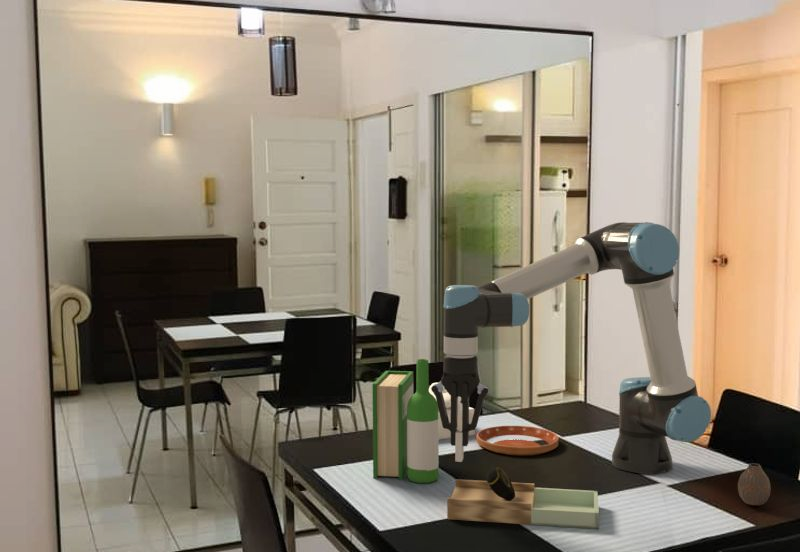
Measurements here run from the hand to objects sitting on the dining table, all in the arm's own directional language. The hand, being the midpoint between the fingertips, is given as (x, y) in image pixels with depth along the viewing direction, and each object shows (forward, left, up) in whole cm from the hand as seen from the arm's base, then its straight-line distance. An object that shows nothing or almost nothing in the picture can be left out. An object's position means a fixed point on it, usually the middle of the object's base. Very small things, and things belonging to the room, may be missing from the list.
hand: (459, 459), depth 197 cm
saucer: (-9, -54, -12) cm, 56 cm away
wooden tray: (-7, 0, -11) cm, 13 cm away
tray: (-23, 0, -11) cm, 26 cm away
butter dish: (+16, -63, -12) cm, 66 cm away
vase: (-65, -17, -11) cm, 68 cm away
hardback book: (+21, -27, -12) cm, 36 cm away
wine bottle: (+12, -20, -11) cm, 26 cm away
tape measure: (-9, 0, -8) cm, 13 cm away
